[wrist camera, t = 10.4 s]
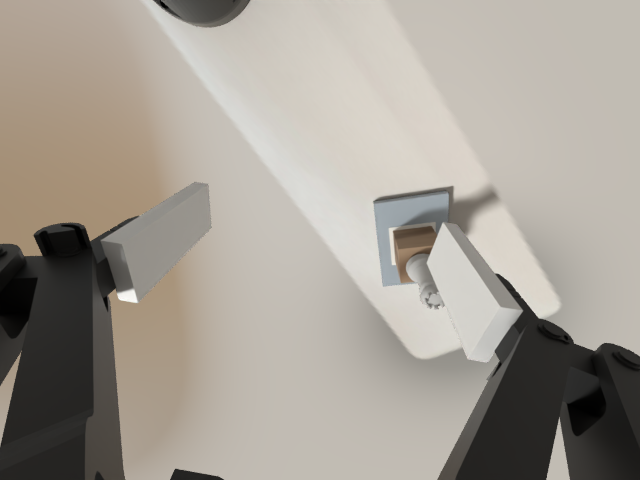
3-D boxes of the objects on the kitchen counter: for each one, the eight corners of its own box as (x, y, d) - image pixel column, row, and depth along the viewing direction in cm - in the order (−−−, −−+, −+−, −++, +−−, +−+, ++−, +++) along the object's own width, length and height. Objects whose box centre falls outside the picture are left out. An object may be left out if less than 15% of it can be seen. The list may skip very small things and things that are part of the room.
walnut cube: (392, 230, 44) (398, 249, 39) (431, 225, 43) (442, 244, 38) (395, 262, 47) (400, 283, 42) (432, 258, 46) (442, 279, 41)
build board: (373, 201, 44) (373, 204, 43) (446, 190, 42) (448, 193, 41) (382, 282, 51) (383, 286, 50) (445, 276, 49) (447, 280, 48)
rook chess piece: (443, 264, 40) (463, 301, 33) (418, 282, 41) (432, 321, 34) (423, 245, 38) (439, 280, 31) (398, 265, 40) (408, 301, 33)
